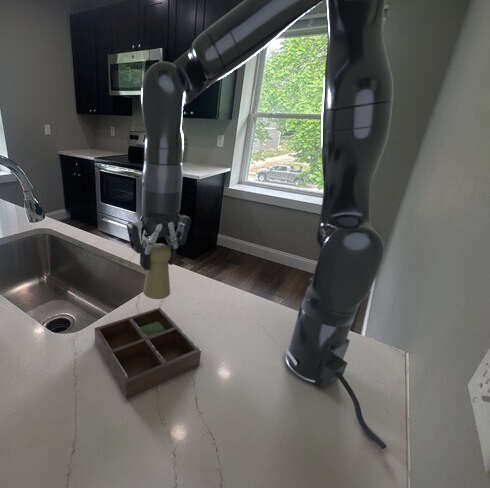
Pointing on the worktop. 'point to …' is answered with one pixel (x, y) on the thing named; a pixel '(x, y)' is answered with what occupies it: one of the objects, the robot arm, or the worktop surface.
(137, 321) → the grid
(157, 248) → the yellow peg doll
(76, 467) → the worktop surface
